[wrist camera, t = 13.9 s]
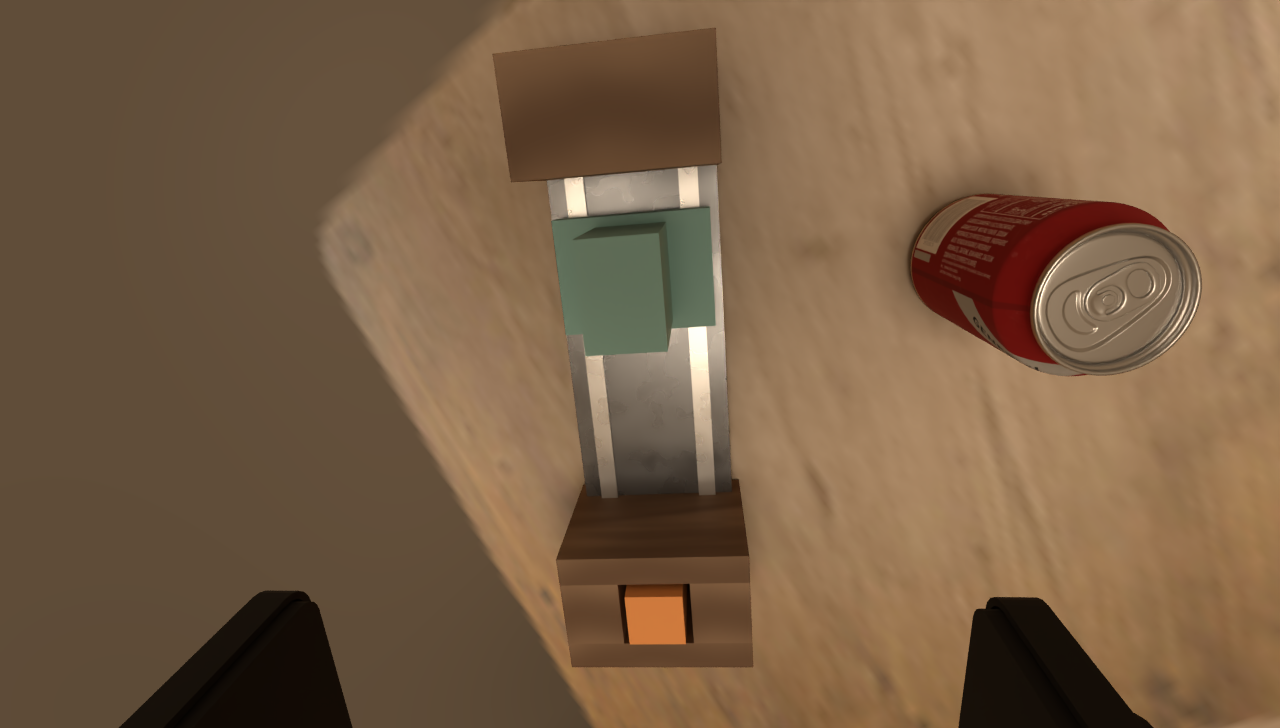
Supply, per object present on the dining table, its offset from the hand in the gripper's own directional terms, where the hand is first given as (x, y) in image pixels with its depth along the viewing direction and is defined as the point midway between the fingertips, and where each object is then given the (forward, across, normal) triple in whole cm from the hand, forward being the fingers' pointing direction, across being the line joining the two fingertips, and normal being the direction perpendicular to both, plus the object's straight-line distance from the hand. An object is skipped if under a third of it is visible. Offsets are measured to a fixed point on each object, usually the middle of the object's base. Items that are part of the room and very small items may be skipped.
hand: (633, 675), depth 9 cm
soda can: (+28, -16, -1) cm, 32 cm away
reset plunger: (+27, +2, +16) cm, 32 cm away
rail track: (+28, +2, +2) cm, 28 cm away
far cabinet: (+27, +2, +16) cm, 32 cm away
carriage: (+25, +2, -2) cm, 26 cm away
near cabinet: (+28, +2, -9) cm, 29 cm away
